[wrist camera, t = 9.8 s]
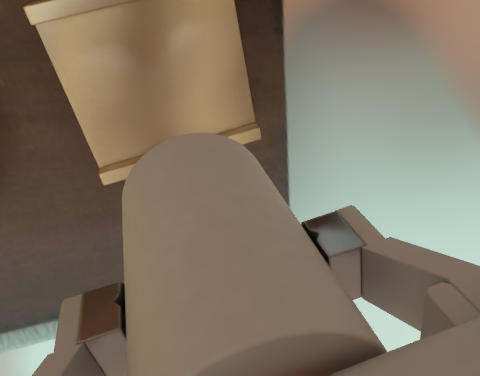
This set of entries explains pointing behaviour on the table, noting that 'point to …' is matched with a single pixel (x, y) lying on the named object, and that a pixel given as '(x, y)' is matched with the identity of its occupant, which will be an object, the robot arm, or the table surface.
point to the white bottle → (227, 272)
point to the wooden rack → (147, 73)
